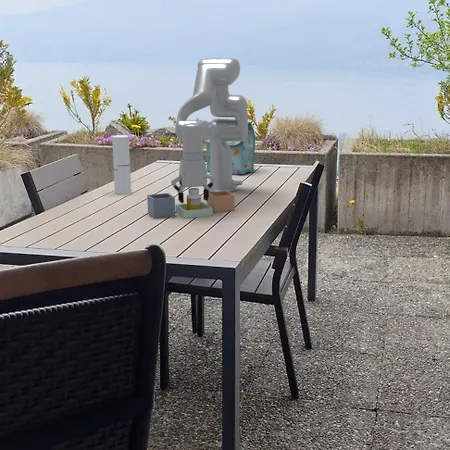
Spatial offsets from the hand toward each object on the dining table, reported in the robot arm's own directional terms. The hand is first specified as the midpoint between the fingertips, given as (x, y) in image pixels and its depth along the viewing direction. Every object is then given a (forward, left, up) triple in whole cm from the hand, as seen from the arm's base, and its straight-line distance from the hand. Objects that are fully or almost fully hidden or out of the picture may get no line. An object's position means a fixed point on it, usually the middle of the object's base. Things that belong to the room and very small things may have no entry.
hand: (193, 201), depth 257 cm
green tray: (0, 0, -6) cm, 6 cm away
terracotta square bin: (-12, -3, -6) cm, 14 cm away
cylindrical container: (+16, -51, -6) cm, 54 cm away
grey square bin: (+12, -3, -6) cm, 14 cm away
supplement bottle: (0, 0, -5) cm, 5 cm away
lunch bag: (-46, -79, -6) cm, 92 cm away
